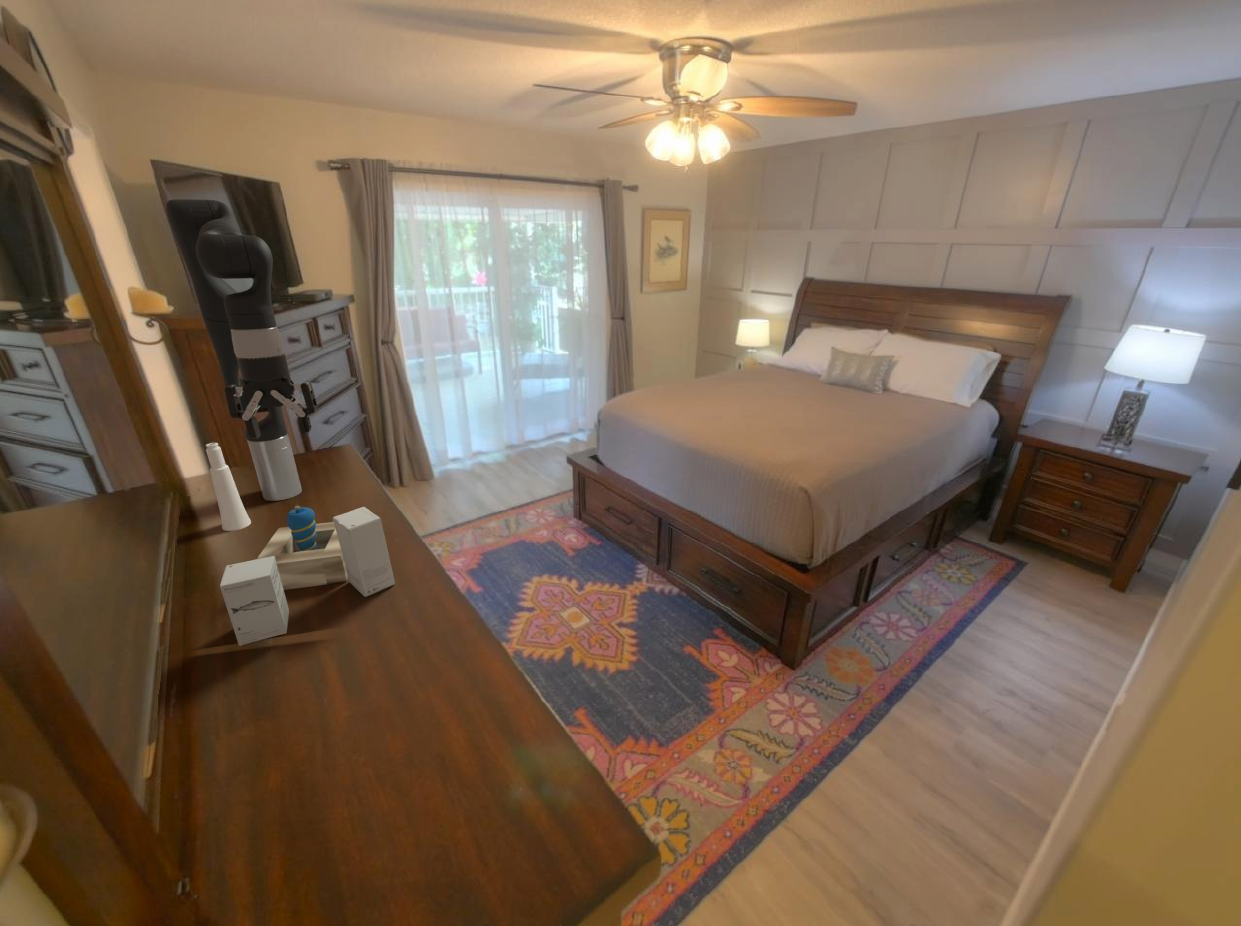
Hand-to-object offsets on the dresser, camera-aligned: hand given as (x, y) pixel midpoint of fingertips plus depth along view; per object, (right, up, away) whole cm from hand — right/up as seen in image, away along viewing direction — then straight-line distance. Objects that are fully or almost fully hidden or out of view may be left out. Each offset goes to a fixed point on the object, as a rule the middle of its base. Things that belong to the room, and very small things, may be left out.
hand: (281, 435), depth 100 cm
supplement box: (+2, -36, -8) cm, 37 cm away
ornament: (-1, -28, +11) cm, 30 cm away
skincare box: (+15, -31, +5) cm, 35 cm away
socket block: (0, -28, +11) cm, 30 cm away
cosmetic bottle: (-29, -22, +27) cm, 45 cm away
